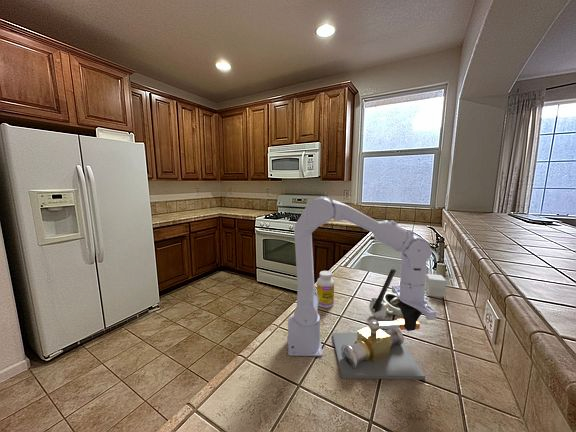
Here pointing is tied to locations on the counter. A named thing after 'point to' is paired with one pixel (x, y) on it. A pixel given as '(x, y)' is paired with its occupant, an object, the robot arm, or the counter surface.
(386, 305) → the butterfly valve
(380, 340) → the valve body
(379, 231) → the robot arm
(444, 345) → the counter surface
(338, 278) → the counter surface
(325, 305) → the supplement bottle
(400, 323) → the lever
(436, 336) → the counter surface
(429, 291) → the product box
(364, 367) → the mounting board
